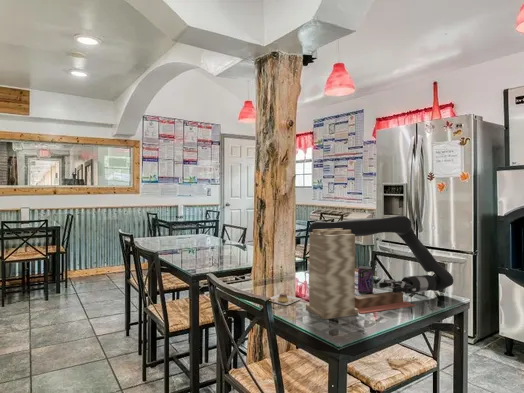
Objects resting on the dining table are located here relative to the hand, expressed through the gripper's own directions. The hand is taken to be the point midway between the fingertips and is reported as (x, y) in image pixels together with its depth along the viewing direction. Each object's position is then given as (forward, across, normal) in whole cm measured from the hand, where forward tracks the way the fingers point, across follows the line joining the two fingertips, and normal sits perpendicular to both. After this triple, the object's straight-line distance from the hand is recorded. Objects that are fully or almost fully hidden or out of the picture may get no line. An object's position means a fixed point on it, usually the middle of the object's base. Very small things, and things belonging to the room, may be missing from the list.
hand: (386, 287), depth 160 cm
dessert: (+40, -21, +8) cm, 46 cm away
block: (+4, 0, +7) cm, 8 cm away
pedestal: (+28, 0, +7) cm, 29 cm away
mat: (+5, 0, +7) cm, 8 cm away
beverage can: (-4, -19, +7) cm, 21 cm away
